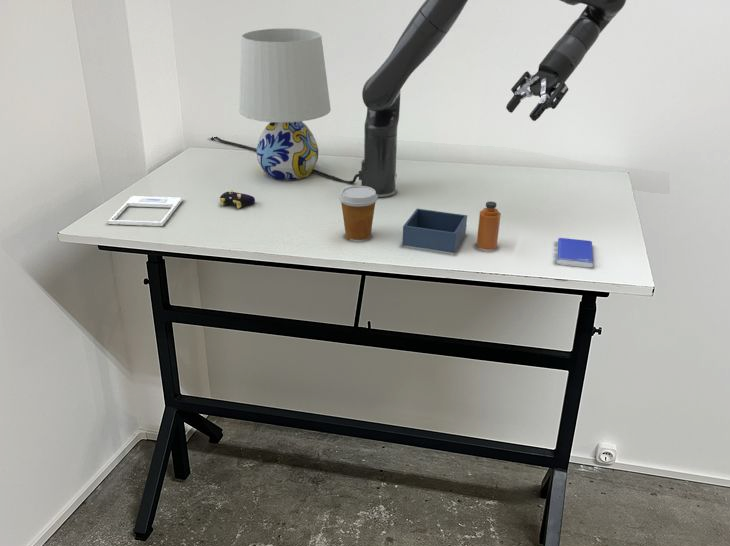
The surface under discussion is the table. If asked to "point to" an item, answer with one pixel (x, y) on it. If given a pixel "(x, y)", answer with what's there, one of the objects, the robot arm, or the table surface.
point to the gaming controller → (236, 199)
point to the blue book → (575, 252)
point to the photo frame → (147, 202)
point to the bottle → (488, 227)
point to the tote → (434, 230)
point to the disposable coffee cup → (358, 211)
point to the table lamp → (284, 96)
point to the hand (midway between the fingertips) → (520, 114)
